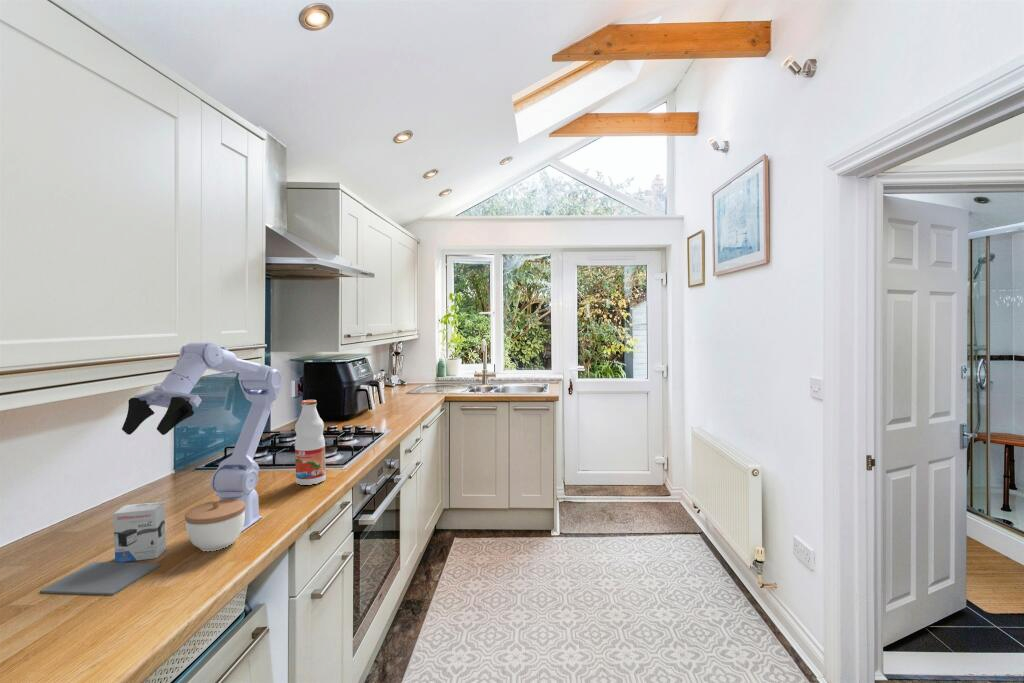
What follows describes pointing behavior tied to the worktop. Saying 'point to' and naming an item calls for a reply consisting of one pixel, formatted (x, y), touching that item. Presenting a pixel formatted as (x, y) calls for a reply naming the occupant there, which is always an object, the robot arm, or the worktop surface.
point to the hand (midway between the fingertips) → (143, 431)
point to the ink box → (139, 532)
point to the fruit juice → (309, 445)
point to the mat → (101, 578)
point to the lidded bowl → (215, 523)
